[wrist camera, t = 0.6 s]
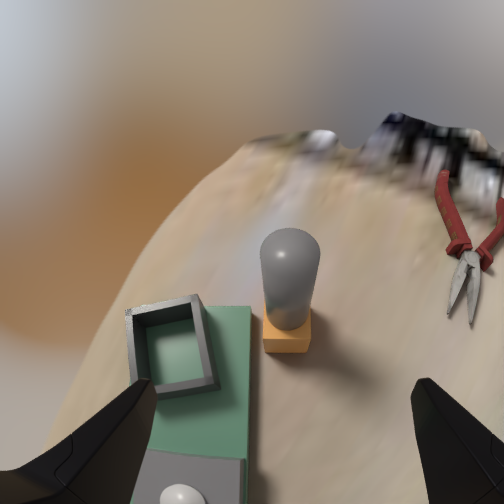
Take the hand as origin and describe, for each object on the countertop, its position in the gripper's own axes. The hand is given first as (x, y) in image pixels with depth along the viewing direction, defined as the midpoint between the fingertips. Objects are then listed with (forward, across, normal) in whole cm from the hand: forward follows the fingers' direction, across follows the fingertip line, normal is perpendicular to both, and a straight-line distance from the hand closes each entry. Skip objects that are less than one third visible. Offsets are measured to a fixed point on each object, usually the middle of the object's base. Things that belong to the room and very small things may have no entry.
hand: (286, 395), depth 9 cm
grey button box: (+1, +6, +16) cm, 17 cm away
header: (+11, +9, +9) cm, 17 cm away
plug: (+15, 0, +9) cm, 18 cm away
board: (+7, +8, +14) cm, 17 cm away
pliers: (+24, -21, +4) cm, 32 cm away
